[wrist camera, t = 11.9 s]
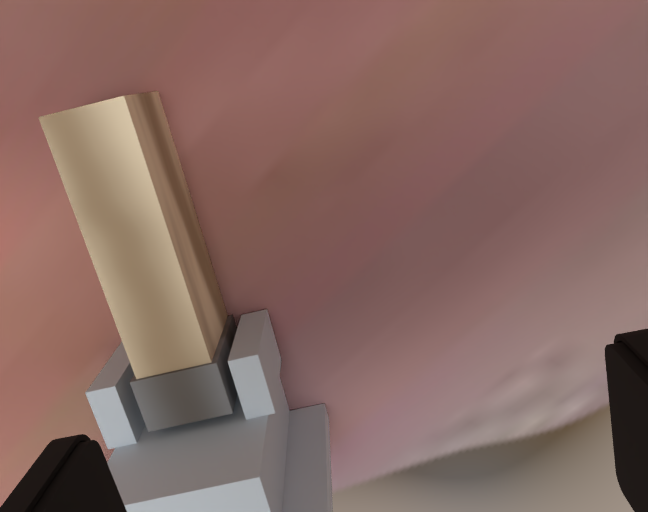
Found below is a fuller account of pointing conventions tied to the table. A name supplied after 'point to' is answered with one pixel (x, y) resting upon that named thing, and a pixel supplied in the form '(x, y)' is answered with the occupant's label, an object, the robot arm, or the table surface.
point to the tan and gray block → (148, 255)
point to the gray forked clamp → (219, 440)
